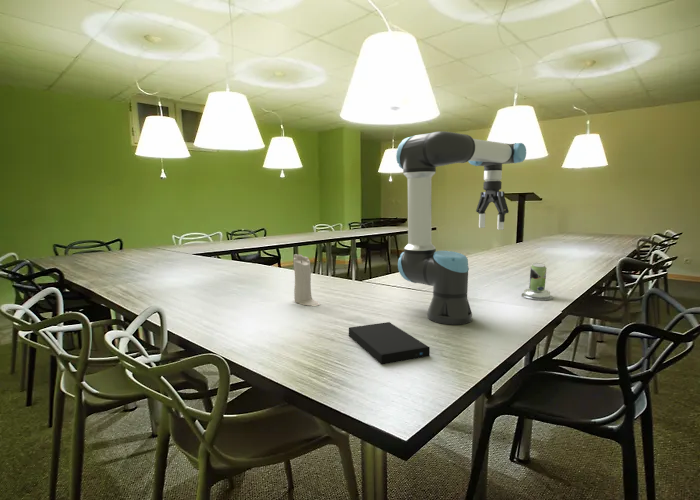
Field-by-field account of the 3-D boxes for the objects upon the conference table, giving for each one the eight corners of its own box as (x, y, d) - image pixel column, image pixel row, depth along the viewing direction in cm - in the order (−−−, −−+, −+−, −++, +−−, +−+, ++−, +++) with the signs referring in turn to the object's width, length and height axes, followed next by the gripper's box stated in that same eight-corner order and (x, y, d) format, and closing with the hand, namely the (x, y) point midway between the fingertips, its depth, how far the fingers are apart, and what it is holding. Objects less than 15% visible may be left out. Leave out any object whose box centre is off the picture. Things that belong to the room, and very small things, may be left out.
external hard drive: (389, 331, 123) (389, 322, 123) (429, 357, 102) (429, 346, 102) (348, 336, 118) (348, 327, 118) (381, 366, 97) (381, 354, 96)
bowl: (535, 301, 156) (535, 295, 156) (515, 294, 168) (515, 289, 167) (559, 299, 159) (559, 293, 159) (538, 292, 171) (538, 287, 171)
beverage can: (541, 289, 167) (542, 262, 165) (548, 293, 159) (549, 265, 158) (526, 289, 167) (527, 262, 166) (532, 293, 160) (533, 265, 158)
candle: (310, 307, 150) (309, 257, 148) (291, 300, 161) (289, 254, 158) (324, 304, 155) (324, 255, 153) (305, 298, 165) (304, 252, 163)
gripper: (519, 179, 158) (516, 230, 161) (483, 182, 182) (481, 226, 184) (503, 179, 156) (501, 230, 159) (469, 182, 180) (468, 227, 183)
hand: (490, 228), depth 172 cm, fingers open, 13 cm apart
